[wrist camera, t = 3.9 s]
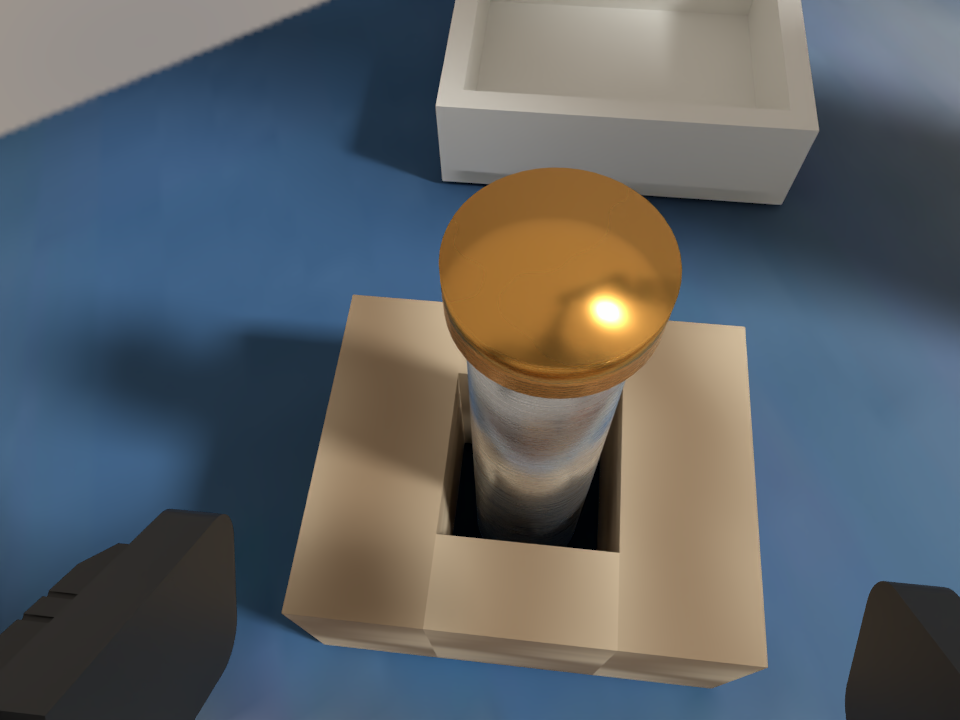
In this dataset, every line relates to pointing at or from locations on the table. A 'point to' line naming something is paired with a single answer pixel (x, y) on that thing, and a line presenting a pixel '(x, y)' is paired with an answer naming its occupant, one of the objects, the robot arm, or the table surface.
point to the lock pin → (551, 334)
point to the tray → (630, 94)
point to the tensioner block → (531, 567)
